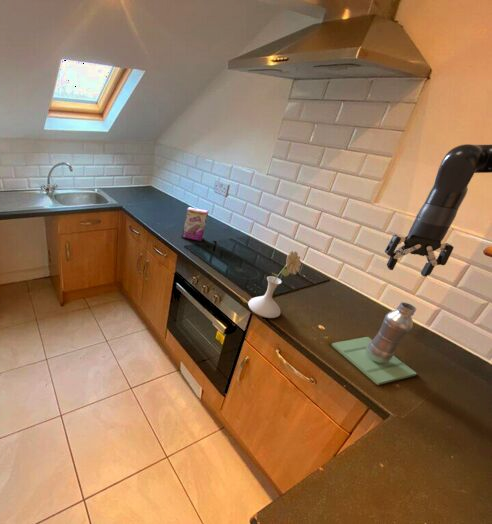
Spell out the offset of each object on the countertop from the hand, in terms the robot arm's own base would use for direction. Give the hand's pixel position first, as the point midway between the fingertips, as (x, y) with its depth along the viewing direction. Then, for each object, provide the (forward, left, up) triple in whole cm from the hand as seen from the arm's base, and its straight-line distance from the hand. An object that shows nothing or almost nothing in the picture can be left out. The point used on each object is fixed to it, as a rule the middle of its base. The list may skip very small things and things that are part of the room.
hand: (406, 272), depth 91 cm
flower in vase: (+27, -20, -27) cm, 43 cm away
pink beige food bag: (+25, -86, -27) cm, 93 cm away
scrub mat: (+8, +8, -26) cm, 29 cm away
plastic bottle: (+8, +9, -26) cm, 28 cm away
